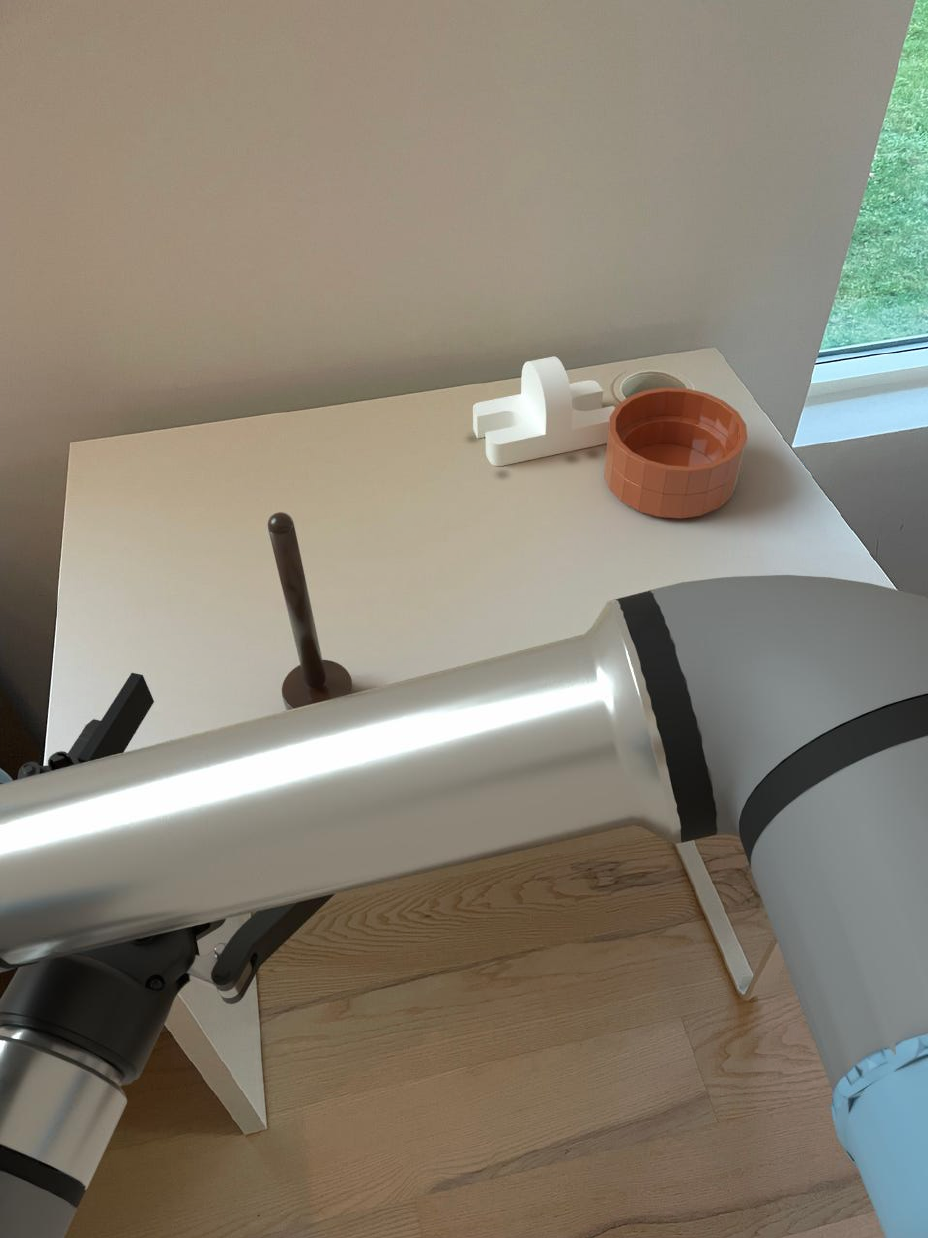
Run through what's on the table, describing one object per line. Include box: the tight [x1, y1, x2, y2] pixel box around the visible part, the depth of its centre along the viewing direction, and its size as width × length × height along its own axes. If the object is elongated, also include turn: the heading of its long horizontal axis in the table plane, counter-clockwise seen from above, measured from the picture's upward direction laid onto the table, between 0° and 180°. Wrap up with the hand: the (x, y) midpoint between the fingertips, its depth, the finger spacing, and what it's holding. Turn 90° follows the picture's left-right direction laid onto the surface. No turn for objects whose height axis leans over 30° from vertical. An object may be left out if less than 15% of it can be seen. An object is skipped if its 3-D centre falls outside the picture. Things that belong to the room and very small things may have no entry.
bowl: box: [603, 387, 748, 519], centre depth 88 cm, size 12×12×6 cm
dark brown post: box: [267, 511, 355, 711], centre depth 66 cm, size 5×5×19 cm
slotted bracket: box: [472, 355, 616, 467], centre depth 92 cm, size 13×7×8 cm, turn 107°
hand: (243, 708), depth 59 cm, fingers open, 13 cm apart
